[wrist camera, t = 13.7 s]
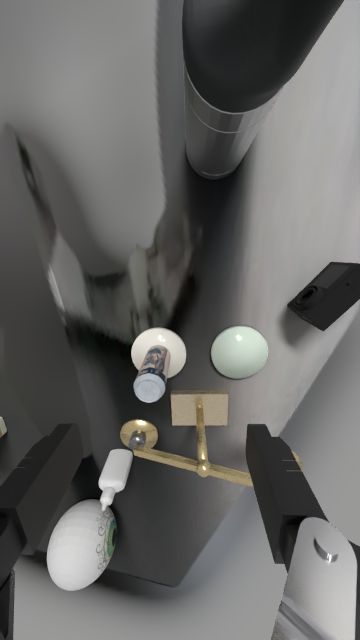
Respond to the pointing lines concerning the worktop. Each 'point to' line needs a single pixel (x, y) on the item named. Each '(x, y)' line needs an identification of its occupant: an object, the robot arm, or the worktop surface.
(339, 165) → the worktop surface
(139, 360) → the glossy white dome
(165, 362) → the beer can
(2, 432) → the skincare box
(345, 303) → the digital camera
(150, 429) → the balance
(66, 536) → the decorative object
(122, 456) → the eye dropper bottle
